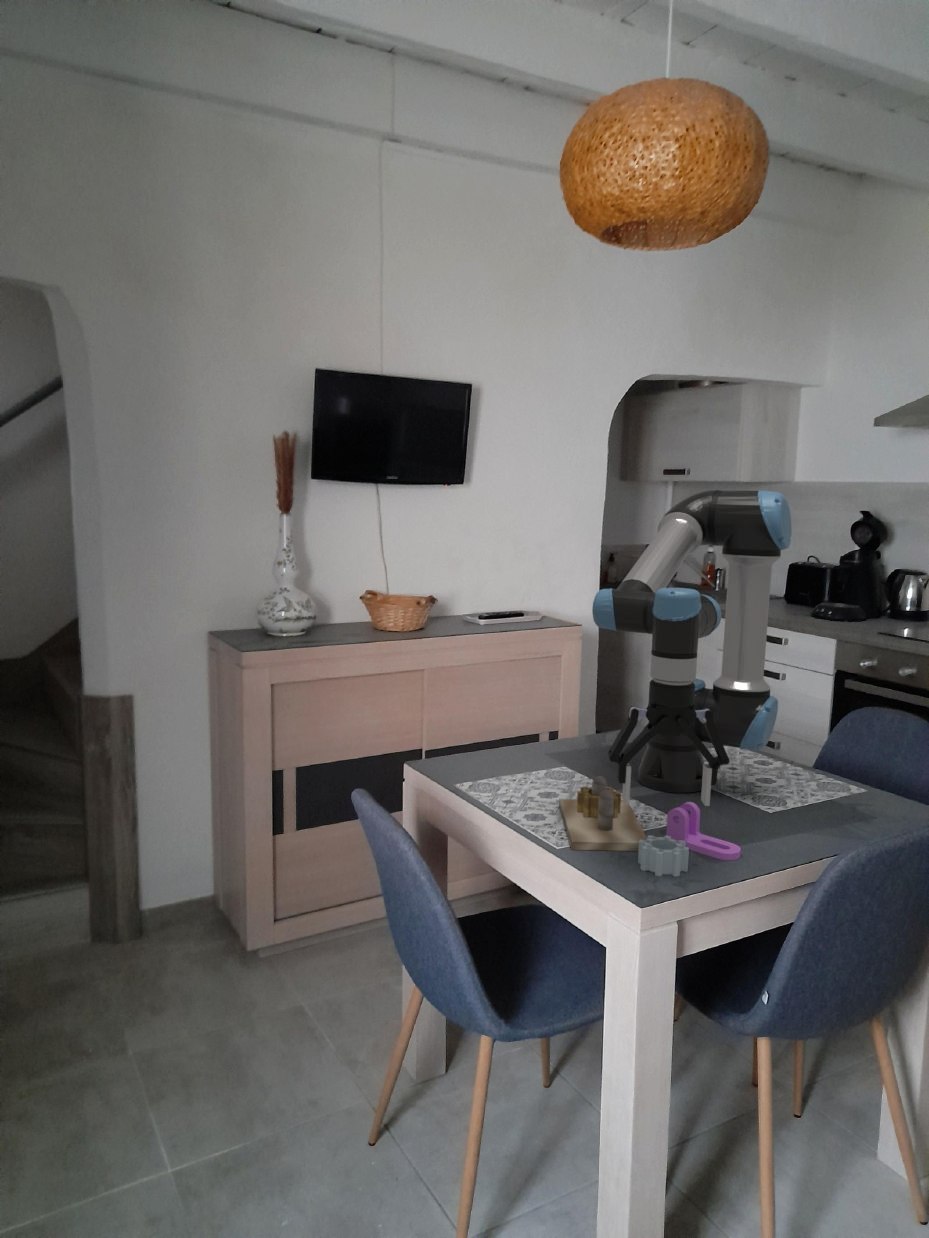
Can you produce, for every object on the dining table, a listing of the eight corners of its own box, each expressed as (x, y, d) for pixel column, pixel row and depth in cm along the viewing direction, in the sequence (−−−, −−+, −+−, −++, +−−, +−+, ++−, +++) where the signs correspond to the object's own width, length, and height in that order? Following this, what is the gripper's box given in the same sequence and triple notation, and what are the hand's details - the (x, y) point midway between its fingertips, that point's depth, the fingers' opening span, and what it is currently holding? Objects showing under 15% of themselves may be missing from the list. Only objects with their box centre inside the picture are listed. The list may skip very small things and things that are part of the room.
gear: (680, 857, 157) (681, 835, 157) (692, 877, 149) (693, 854, 148) (634, 856, 157) (635, 834, 157) (643, 876, 149) (644, 853, 148)
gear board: (627, 807, 181) (629, 766, 180) (649, 850, 160) (651, 804, 158) (559, 806, 181) (560, 764, 180) (571, 849, 160) (573, 802, 158)
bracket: (665, 842, 164) (667, 807, 163) (680, 834, 168) (682, 799, 167) (731, 863, 155) (733, 826, 154) (745, 854, 159) (748, 817, 158)
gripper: (740, 677, 152) (731, 796, 155) (595, 674, 152) (589, 793, 155) (754, 687, 145) (745, 811, 147) (601, 683, 145) (595, 807, 147)
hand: (665, 802), depth 151 cm, fingers open, 13 cm apart
